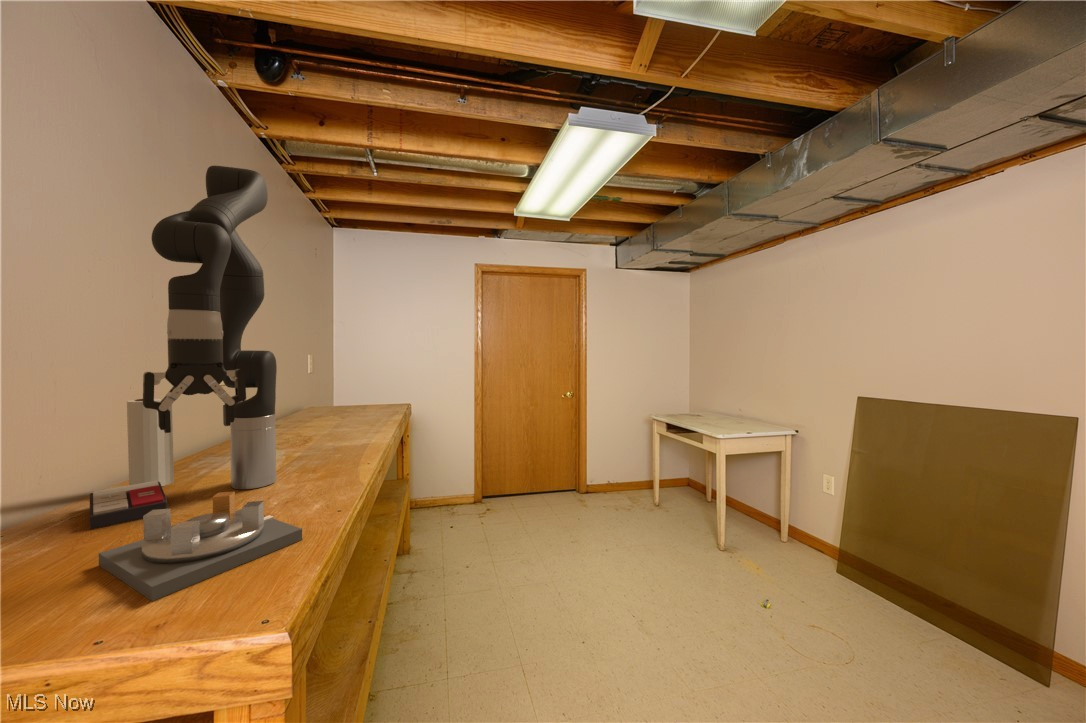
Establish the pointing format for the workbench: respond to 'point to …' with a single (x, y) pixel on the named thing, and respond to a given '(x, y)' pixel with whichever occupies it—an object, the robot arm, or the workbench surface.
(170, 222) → the robot arm
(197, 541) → the lugged metal dish
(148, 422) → the paper towel roll
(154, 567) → the base plate
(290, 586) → the workbench surface
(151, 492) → the calculator
